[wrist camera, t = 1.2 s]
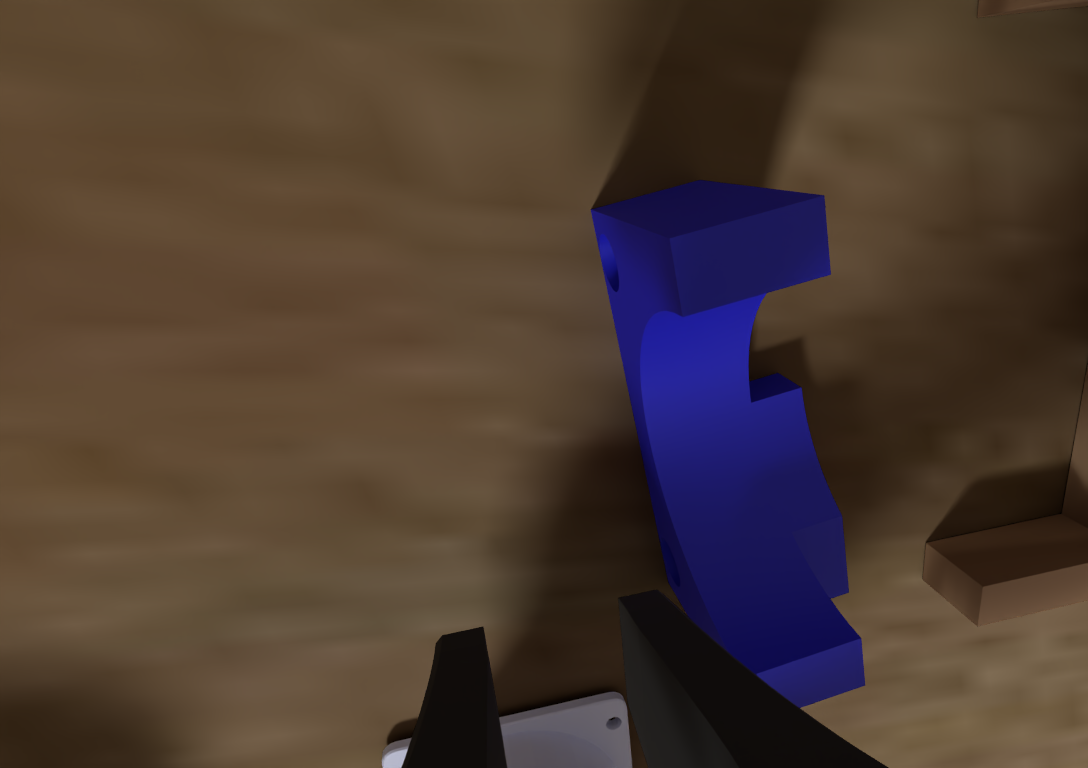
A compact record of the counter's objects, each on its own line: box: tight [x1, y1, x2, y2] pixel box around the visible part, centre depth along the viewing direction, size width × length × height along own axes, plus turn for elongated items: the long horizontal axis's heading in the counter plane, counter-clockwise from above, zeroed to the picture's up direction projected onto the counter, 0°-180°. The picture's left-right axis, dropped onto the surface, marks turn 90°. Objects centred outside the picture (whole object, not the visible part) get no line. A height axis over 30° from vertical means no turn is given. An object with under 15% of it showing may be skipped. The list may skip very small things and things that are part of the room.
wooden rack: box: [923, 0, 1088, 626], centre depth 20 cm, size 19×7×2 cm, turn 7°
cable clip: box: [591, 180, 865, 708], centre depth 17 cm, size 12×4×6 cm, turn 14°
